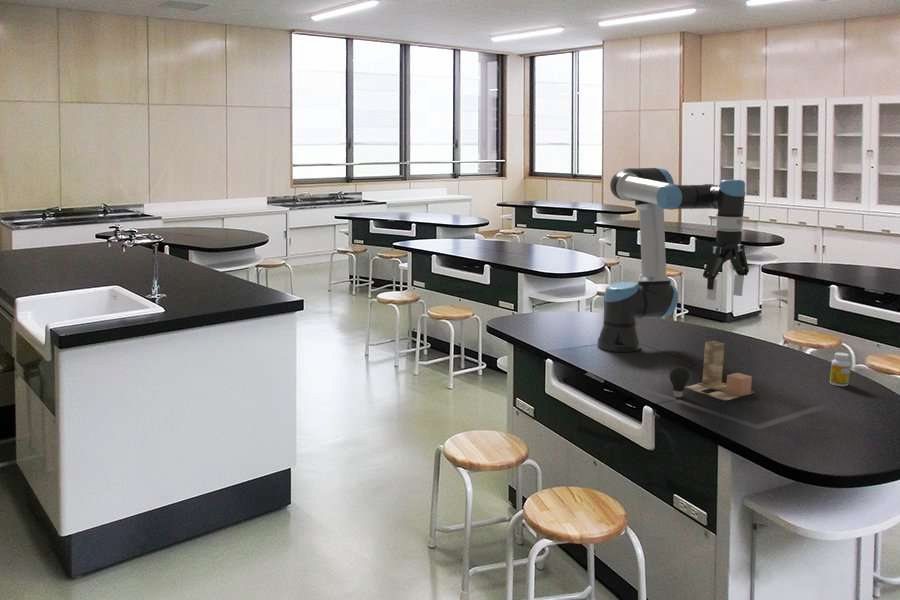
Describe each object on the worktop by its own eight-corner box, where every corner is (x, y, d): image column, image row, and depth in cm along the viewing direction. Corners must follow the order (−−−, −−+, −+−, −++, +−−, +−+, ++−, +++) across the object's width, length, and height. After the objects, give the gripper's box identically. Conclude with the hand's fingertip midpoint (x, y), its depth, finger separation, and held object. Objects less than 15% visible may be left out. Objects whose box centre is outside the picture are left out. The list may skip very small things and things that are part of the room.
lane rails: (683, 390, 248) (683, 386, 248) (712, 383, 256) (712, 379, 256) (725, 403, 236) (725, 399, 236) (754, 395, 244) (754, 391, 244)
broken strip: (685, 390, 249) (685, 386, 249) (696, 387, 252) (696, 384, 251) (727, 403, 237) (727, 399, 237) (738, 400, 240) (738, 397, 239)
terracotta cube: (725, 391, 245) (727, 375, 244) (736, 388, 247) (737, 372, 246) (740, 395, 241) (741, 379, 240) (750, 392, 243) (752, 376, 242)
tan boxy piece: (699, 386, 252) (702, 342, 250) (709, 383, 255) (713, 340, 253) (741, 399, 240) (745, 353, 238) (751, 396, 243) (755, 350, 241)
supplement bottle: (825, 381, 259) (829, 351, 257) (842, 381, 260) (845, 351, 258) (835, 386, 254) (838, 356, 252) (851, 386, 254) (855, 356, 252)
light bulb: (671, 394, 244) (674, 362, 242) (690, 398, 241) (692, 365, 239) (665, 399, 239) (667, 366, 237) (684, 403, 236) (686, 369, 234)
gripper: (714, 233, 244) (710, 303, 248) (763, 228, 259) (758, 295, 262) (693, 231, 250) (689, 299, 254) (742, 227, 265) (738, 291, 268)
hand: (724, 297), depth 258 cm, fingers open, 13 cm apart
